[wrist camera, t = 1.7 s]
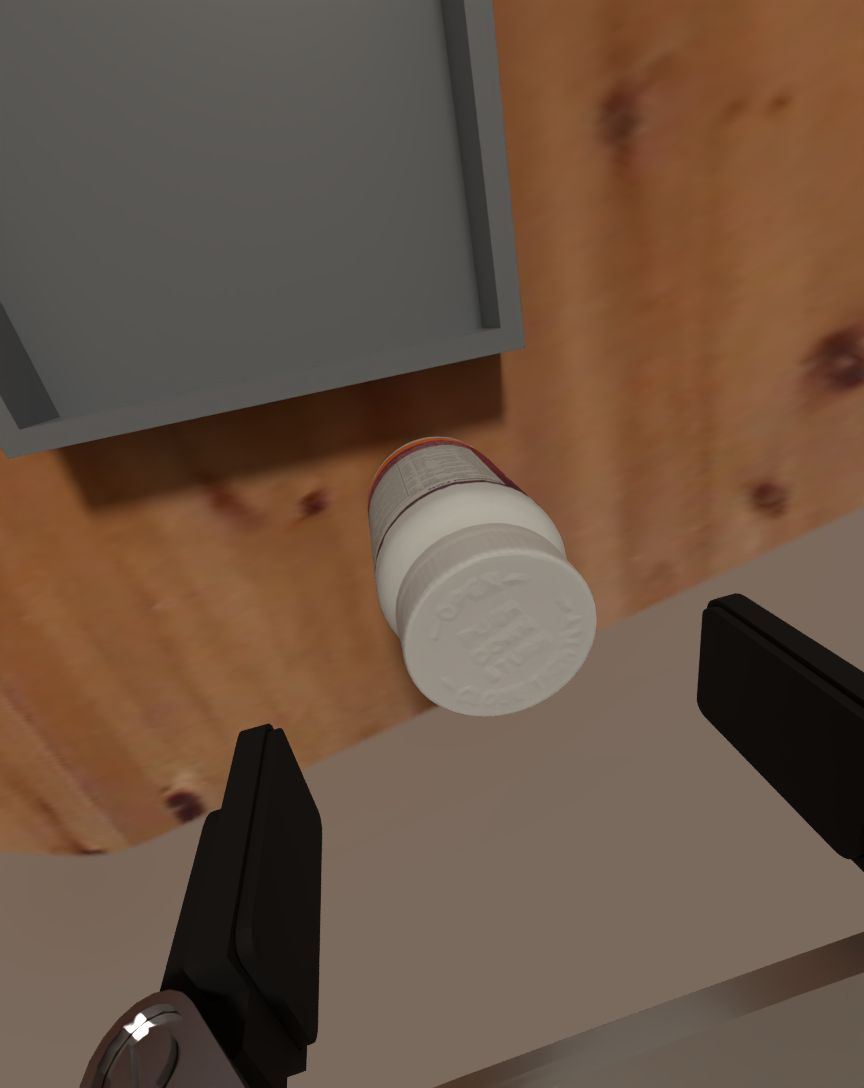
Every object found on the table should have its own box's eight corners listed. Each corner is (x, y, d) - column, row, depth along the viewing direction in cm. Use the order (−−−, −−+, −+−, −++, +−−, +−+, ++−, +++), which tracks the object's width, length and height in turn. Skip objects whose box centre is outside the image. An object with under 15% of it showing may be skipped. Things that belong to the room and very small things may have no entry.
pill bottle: (507, 538, 24) (626, 696, 14) (387, 574, 24) (419, 761, 13) (483, 416, 21) (611, 498, 11) (348, 454, 21) (350, 574, 11)
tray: (414, -402, 12) (434, -614, 10) (499, 344, 20) (524, 347, 17) (-344, -323, 11) (-575, -541, 8) (57, 439, 19) (7, 458, 16)
